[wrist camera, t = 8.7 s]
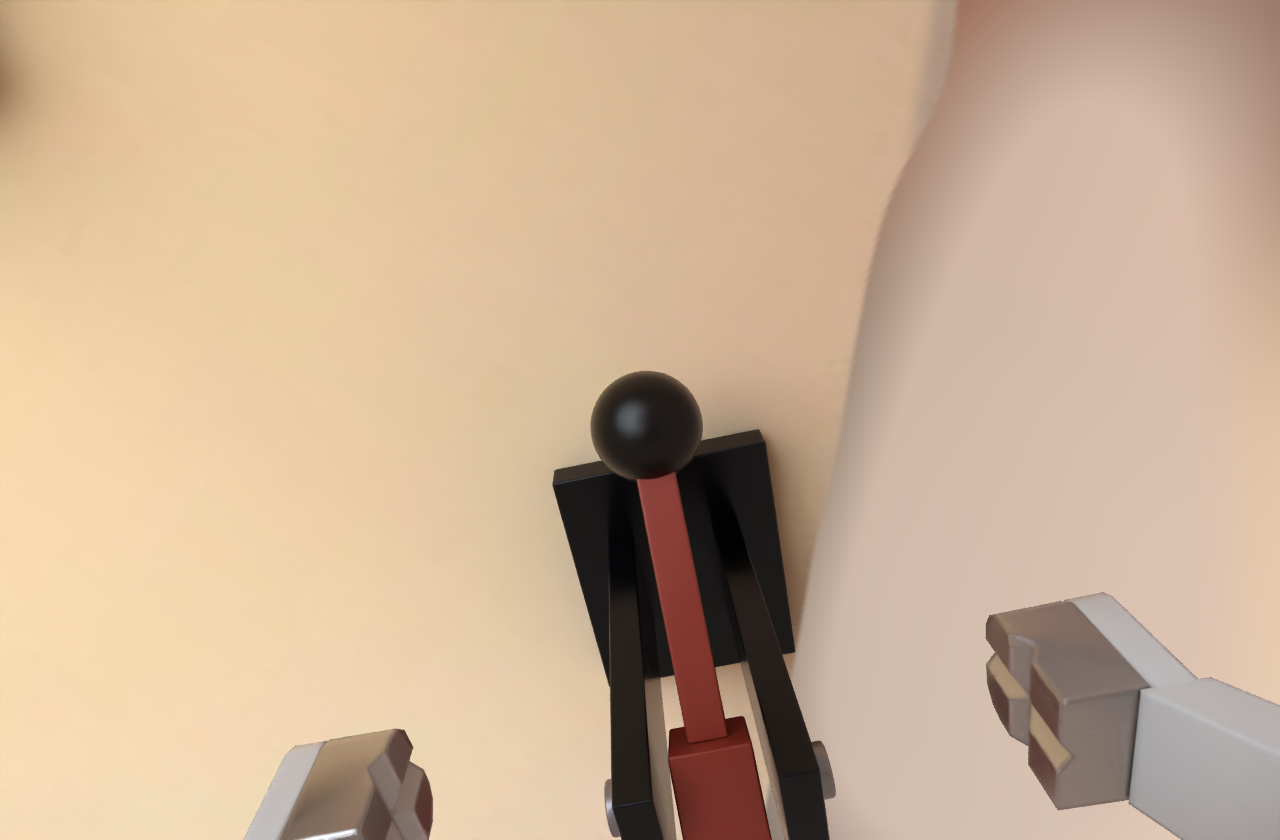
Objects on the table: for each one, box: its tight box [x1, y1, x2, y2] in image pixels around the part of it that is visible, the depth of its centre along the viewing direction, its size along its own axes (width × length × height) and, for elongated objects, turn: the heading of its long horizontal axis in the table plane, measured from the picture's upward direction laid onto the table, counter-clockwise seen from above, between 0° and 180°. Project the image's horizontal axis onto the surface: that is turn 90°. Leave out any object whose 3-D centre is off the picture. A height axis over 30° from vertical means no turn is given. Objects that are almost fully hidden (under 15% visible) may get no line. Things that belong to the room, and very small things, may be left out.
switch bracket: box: [553, 429, 836, 840], centre depth 24 cm, size 10×8×13 cm
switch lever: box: [591, 371, 772, 840], centre depth 20 cm, size 13×3×3 cm, turn 12°
